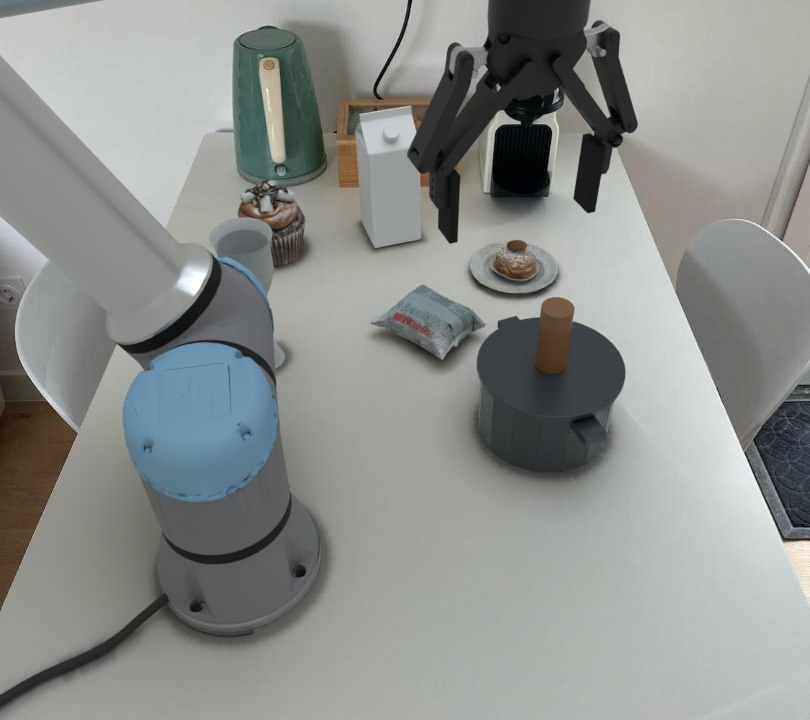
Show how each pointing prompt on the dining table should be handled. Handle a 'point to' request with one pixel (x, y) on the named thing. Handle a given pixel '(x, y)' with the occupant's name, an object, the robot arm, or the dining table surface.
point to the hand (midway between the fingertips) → (517, 220)
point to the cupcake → (276, 219)
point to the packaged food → (430, 320)
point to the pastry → (514, 267)
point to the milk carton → (388, 177)
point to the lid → (551, 366)
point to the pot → (540, 435)
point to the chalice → (248, 253)
